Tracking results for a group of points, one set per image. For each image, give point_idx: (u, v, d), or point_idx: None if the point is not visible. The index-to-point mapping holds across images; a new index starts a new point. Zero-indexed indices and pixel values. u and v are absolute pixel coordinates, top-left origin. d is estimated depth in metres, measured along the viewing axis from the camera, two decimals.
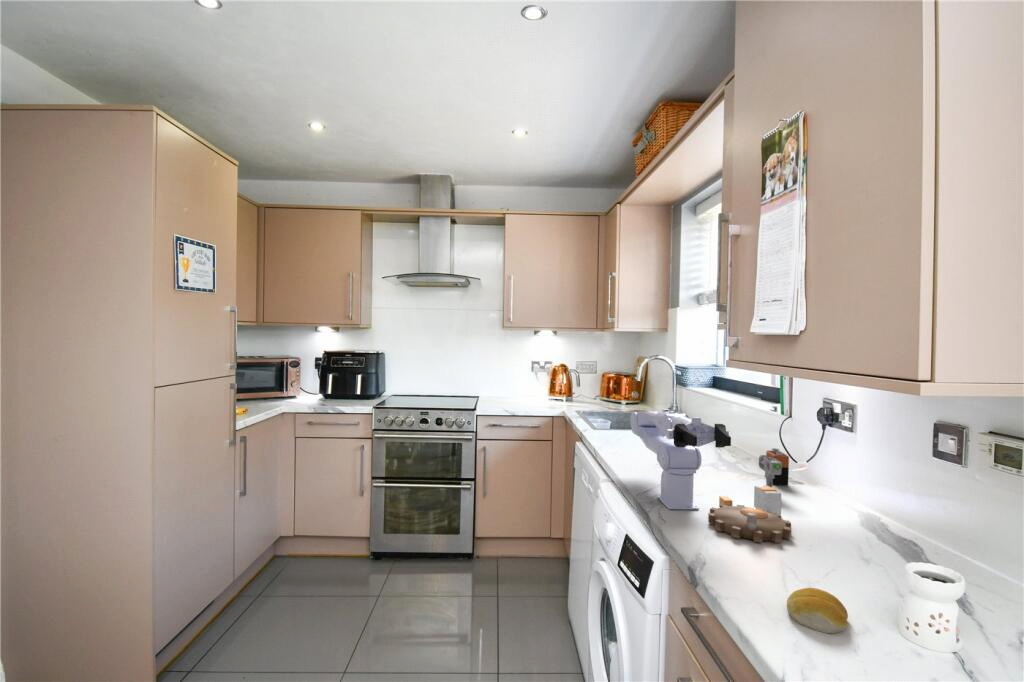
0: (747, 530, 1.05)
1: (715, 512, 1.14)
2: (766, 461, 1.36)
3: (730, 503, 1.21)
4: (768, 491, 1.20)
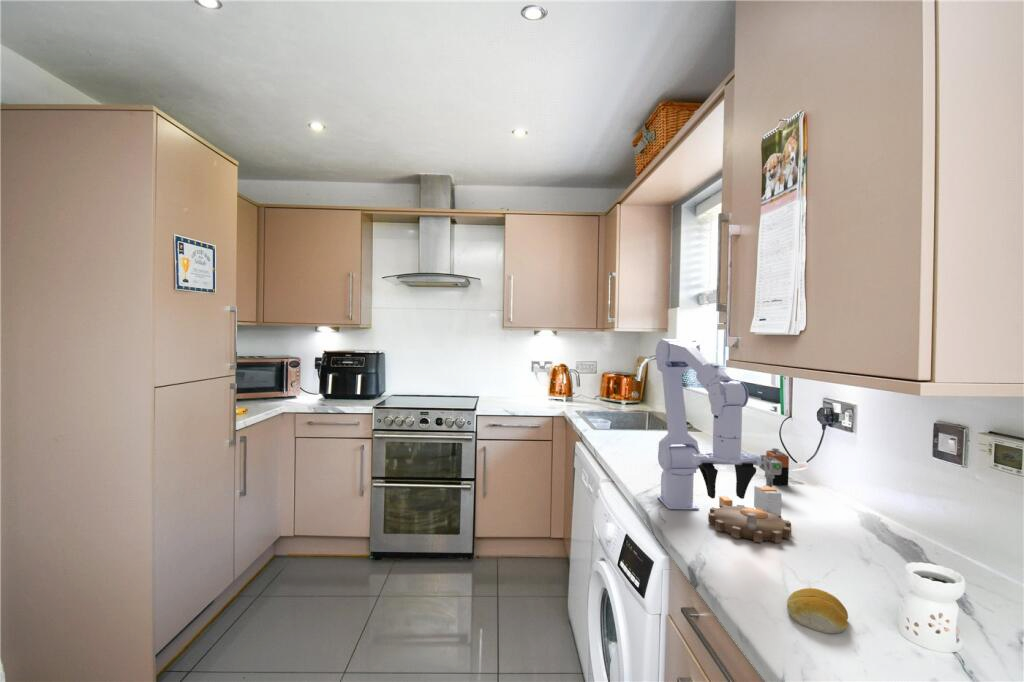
0: (747, 530, 1.05)
1: (715, 512, 1.14)
2: (766, 461, 1.36)
3: (730, 503, 1.21)
4: (768, 491, 1.20)
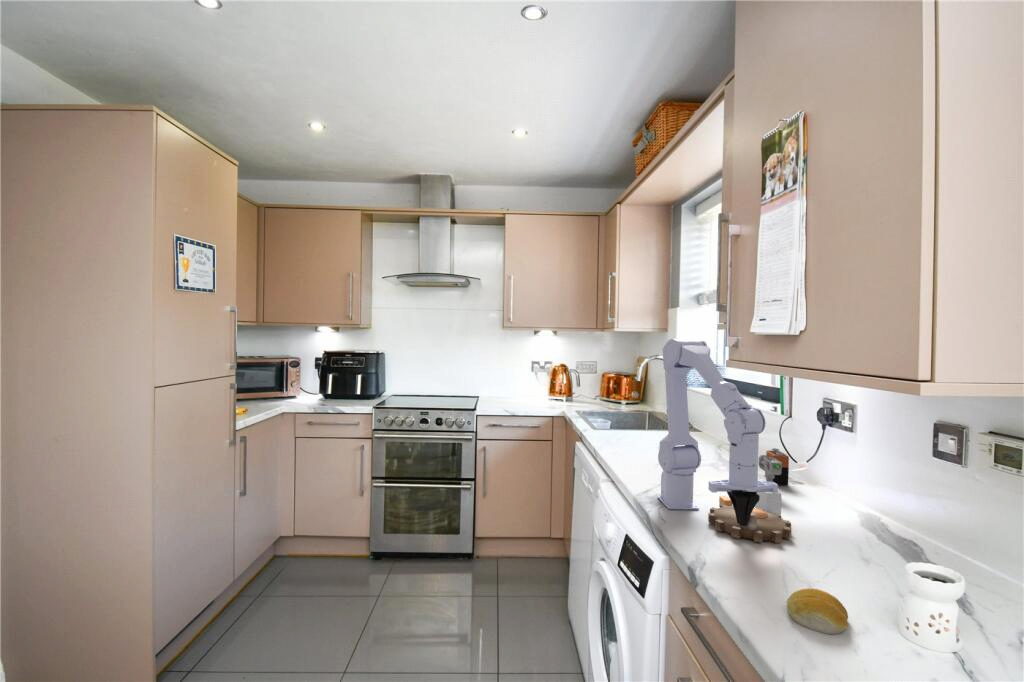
0: (747, 530, 1.05)
1: (715, 512, 1.14)
2: (766, 461, 1.36)
3: (730, 503, 1.21)
4: None
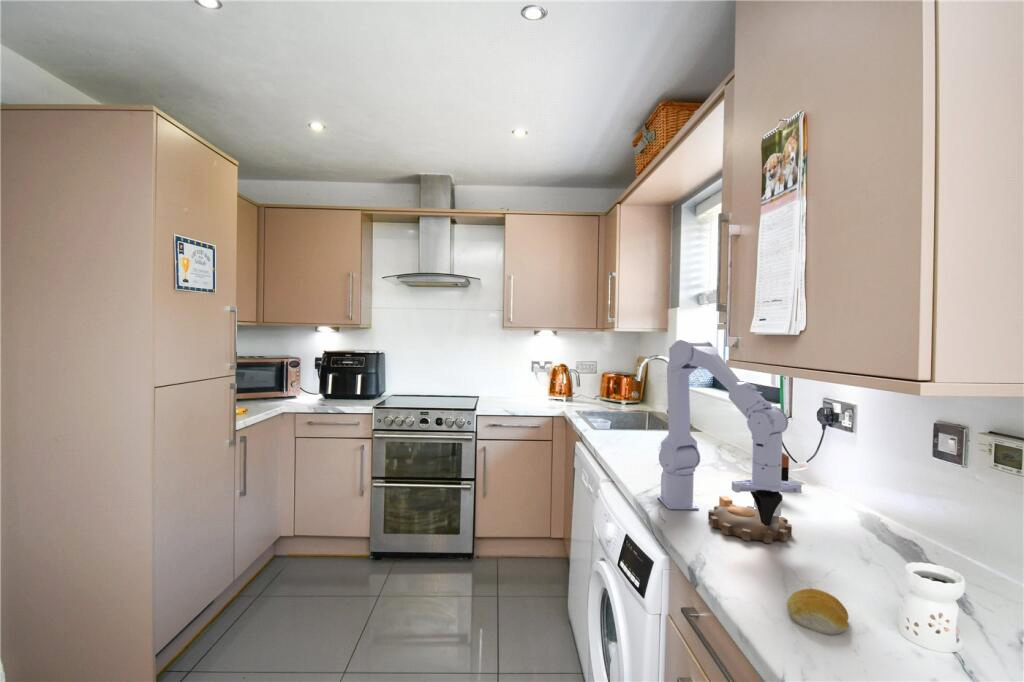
0: (774, 531, 1.04)
1: (724, 521, 1.09)
2: None
3: (730, 503, 1.21)
4: None
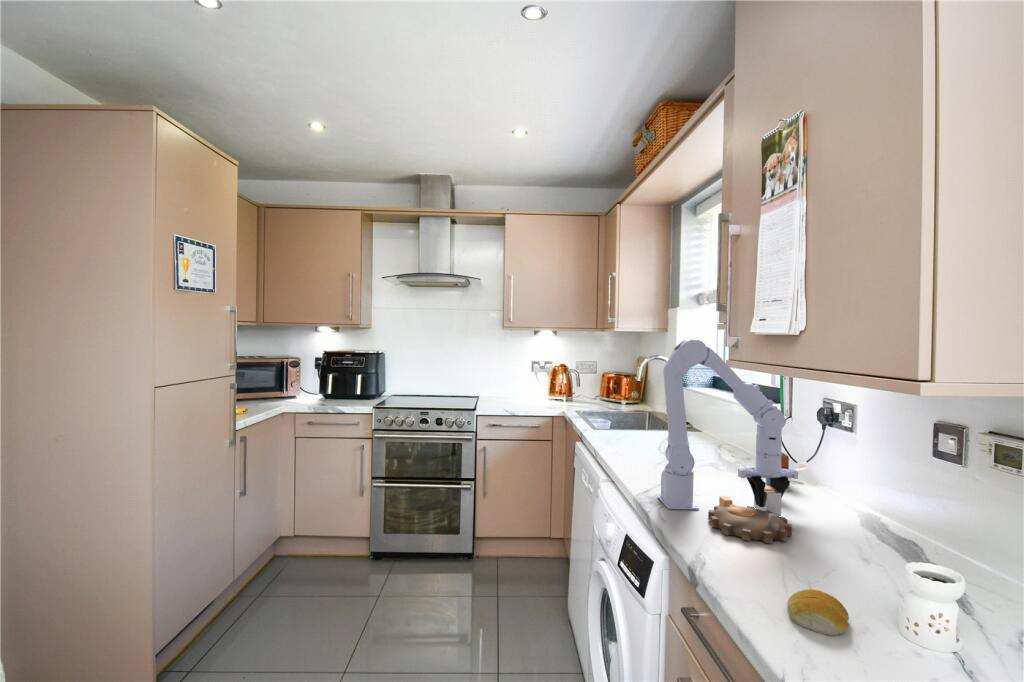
0: (774, 531, 1.04)
1: (724, 521, 1.09)
2: None
3: (730, 503, 1.21)
4: (768, 491, 1.20)
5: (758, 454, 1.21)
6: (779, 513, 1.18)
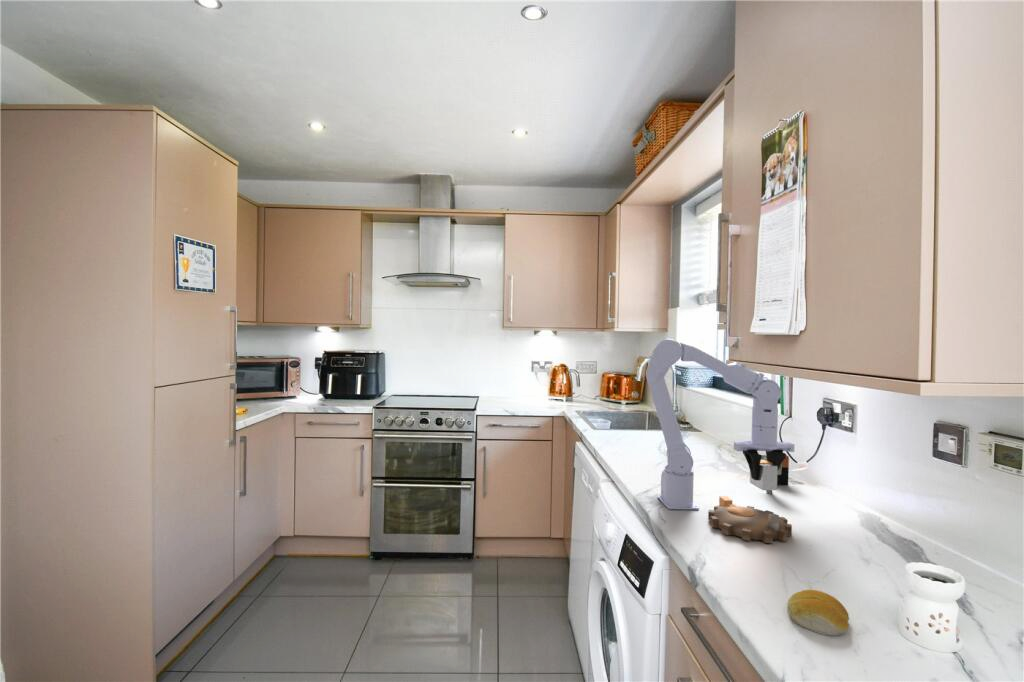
0: (774, 531, 1.04)
1: (724, 521, 1.09)
2: None
3: (730, 503, 1.21)
4: (764, 464, 1.18)
5: (754, 427, 1.20)
6: (775, 486, 1.17)
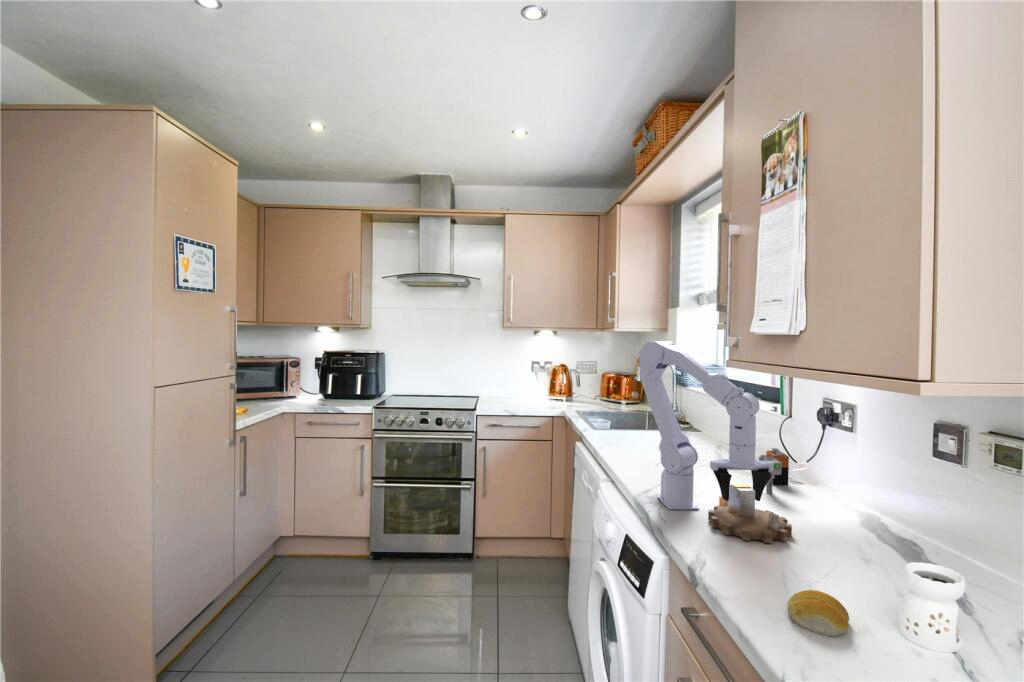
0: (774, 531, 1.04)
1: (724, 521, 1.09)
2: None
3: None
4: (741, 488, 1.13)
5: (731, 445, 1.14)
6: (753, 512, 1.12)
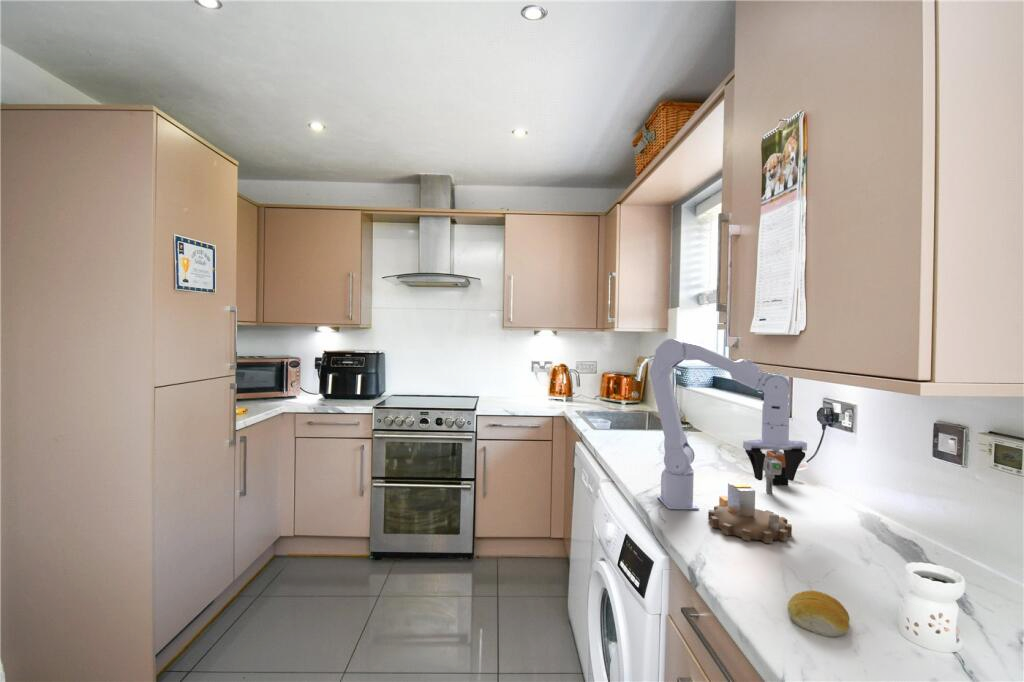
0: (774, 531, 1.04)
1: (724, 521, 1.09)
2: (766, 461, 1.36)
3: None
4: (741, 488, 1.13)
5: (764, 425, 1.14)
6: (753, 512, 1.12)
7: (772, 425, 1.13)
